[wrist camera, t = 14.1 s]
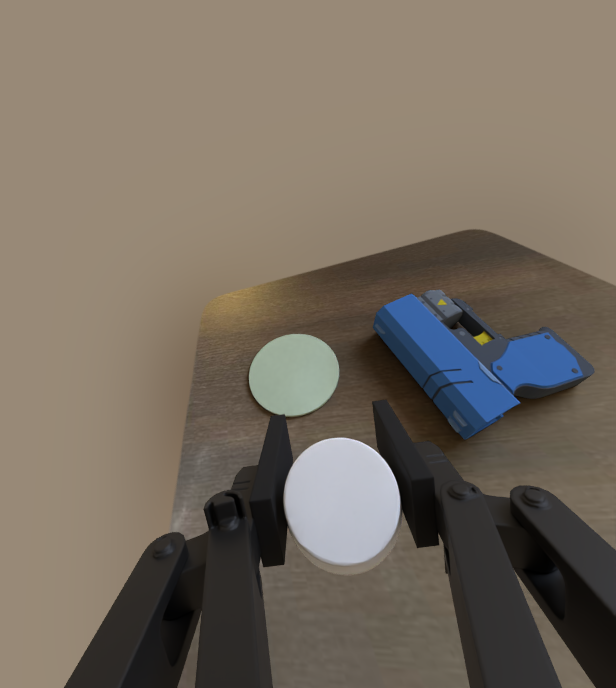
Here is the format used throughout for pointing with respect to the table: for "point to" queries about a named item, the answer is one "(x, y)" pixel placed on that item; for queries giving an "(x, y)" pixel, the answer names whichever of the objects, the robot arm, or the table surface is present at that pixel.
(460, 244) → the table surface
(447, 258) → the table surface
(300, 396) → the coaster
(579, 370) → the stun gun
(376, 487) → the pill bottle
